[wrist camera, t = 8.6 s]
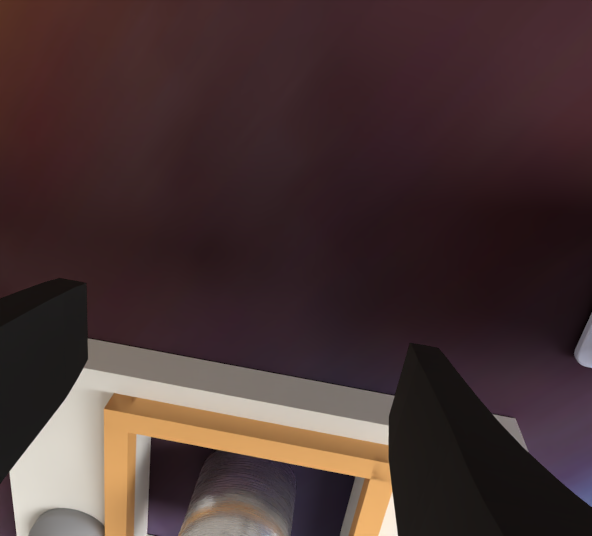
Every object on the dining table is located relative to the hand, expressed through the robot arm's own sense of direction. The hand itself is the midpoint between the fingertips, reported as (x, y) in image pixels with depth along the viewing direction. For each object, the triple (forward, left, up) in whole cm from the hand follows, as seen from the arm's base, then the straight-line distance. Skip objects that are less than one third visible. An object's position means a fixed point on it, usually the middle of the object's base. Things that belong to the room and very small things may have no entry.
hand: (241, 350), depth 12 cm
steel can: (0, +14, -9) cm, 17 cm away
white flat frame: (0, +15, -9) cm, 18 cm away
